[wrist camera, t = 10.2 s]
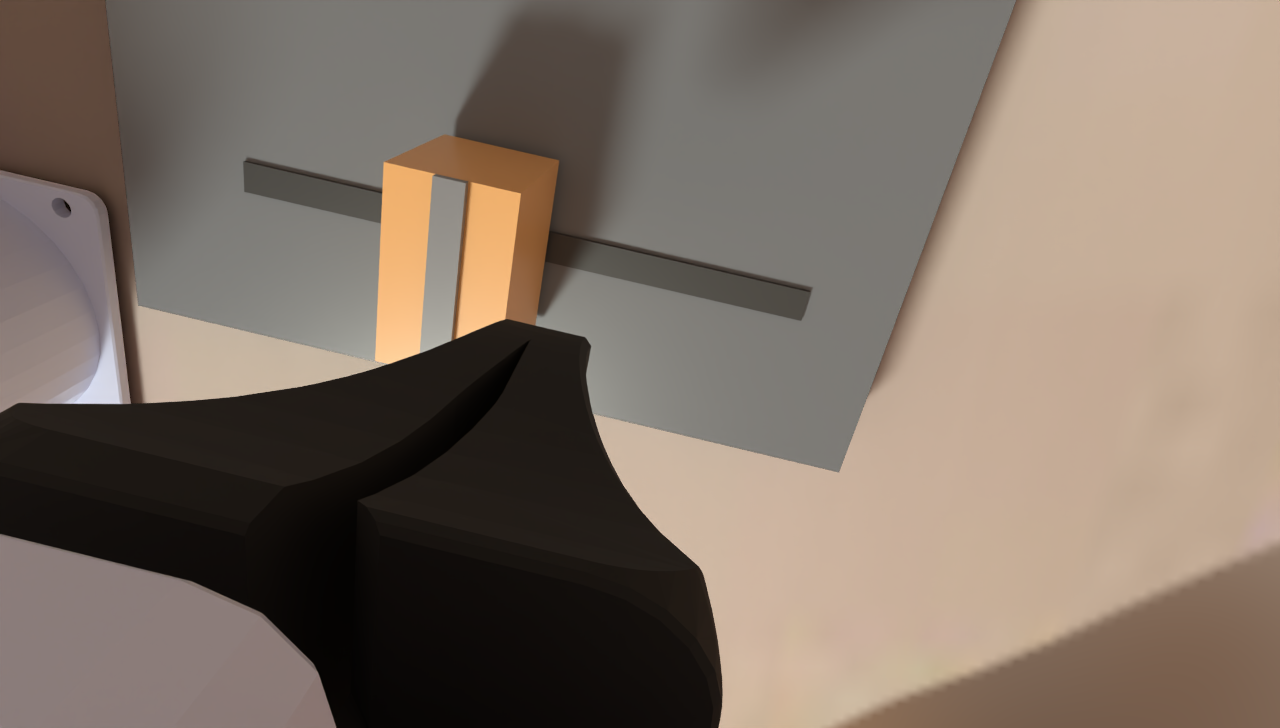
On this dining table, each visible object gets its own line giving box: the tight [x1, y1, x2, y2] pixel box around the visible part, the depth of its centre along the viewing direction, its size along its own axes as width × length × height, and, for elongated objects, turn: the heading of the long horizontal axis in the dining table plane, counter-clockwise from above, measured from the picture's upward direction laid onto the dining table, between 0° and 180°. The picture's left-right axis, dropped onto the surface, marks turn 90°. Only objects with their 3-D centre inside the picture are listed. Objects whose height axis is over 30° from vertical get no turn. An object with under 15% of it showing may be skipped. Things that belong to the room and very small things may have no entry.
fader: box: [375, 134, 559, 364], centre depth 16 cm, size 2×4×3 cm, turn 169°
